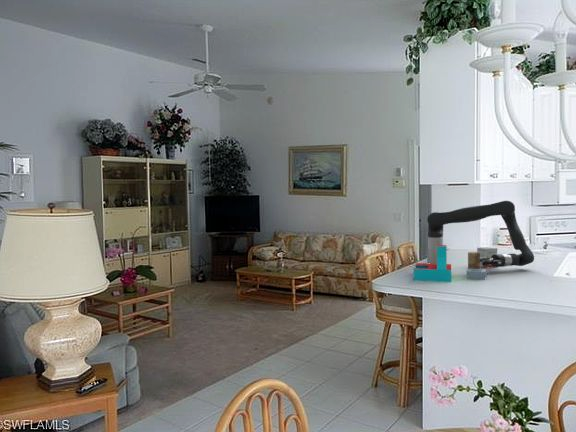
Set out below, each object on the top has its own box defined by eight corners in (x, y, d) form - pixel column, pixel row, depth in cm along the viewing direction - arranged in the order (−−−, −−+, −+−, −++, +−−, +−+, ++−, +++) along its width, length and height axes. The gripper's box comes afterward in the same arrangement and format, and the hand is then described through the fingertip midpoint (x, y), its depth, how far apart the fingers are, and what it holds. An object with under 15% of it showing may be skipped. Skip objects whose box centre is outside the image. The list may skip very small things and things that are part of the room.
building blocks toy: (451, 274, 270) (451, 242, 269) (451, 282, 247) (451, 247, 246) (417, 272, 277) (416, 241, 276) (413, 280, 253) (413, 246, 252)
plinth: (466, 278, 255) (466, 271, 255) (469, 275, 263) (469, 268, 262) (484, 279, 251) (484, 272, 250) (486, 276, 258) (486, 269, 258)
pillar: (473, 274, 266) (473, 253, 265) (468, 273, 270) (468, 252, 269) (479, 274, 267) (480, 252, 266) (474, 272, 271) (474, 251, 271)
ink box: (497, 267, 289) (498, 247, 288) (487, 268, 286) (487, 248, 285) (487, 265, 297) (487, 246, 296) (476, 266, 294) (476, 247, 293)
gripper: (492, 252, 280) (469, 253, 276) (510, 255, 266) (486, 257, 262) (492, 264, 281) (469, 266, 276) (510, 268, 267) (486, 270, 262)
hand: (477, 262), depth 269 cm, fingers open, 8 cm apart
